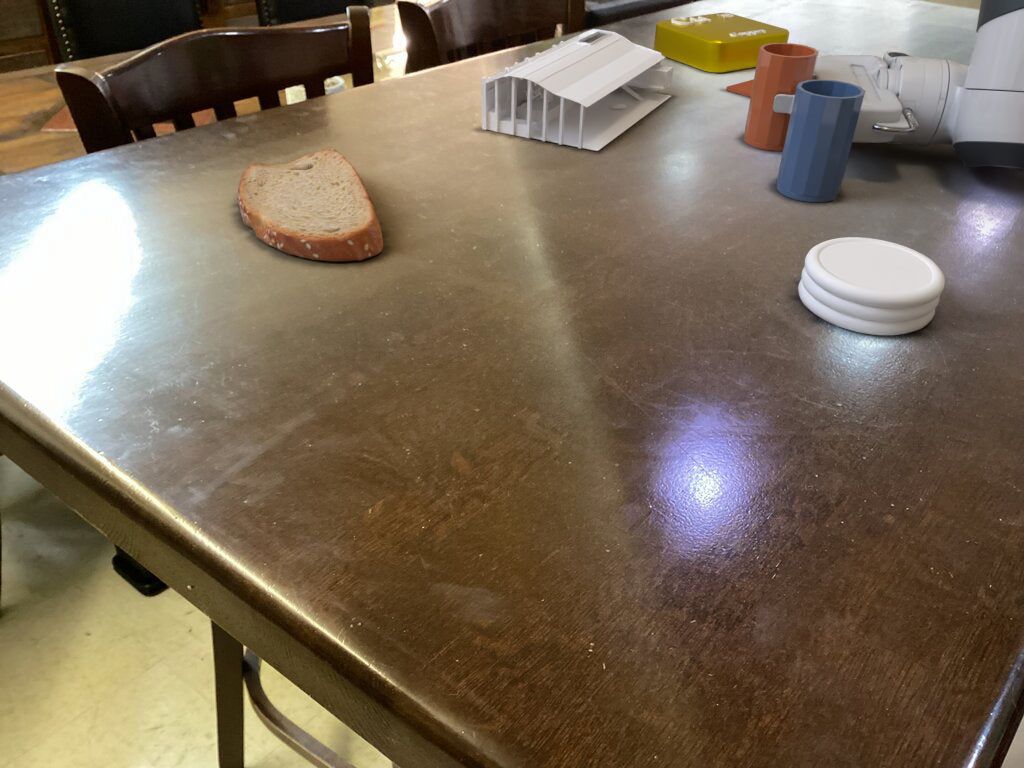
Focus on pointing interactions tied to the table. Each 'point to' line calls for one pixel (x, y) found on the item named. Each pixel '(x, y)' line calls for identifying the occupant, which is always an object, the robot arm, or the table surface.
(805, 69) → the terracotta cup
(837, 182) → the blue cup
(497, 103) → the model shed
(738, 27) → the element tile
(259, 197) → the bread slice
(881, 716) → the table surface
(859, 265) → the coaster
